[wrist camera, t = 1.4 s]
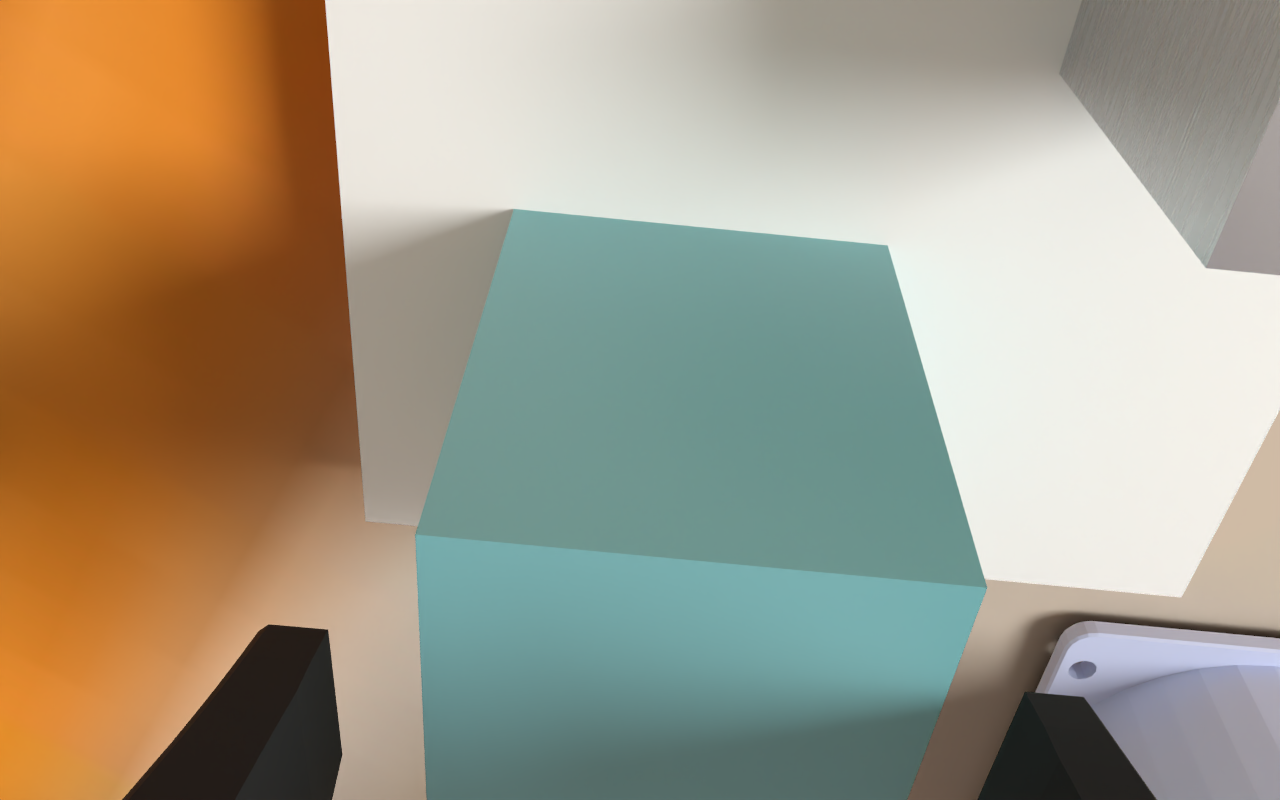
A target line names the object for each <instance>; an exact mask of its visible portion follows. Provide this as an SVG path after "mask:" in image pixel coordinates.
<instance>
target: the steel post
mask: <svg viewBox="0 0 1280 800" xmlns="http://www.w3.org/2000/svg"><path fill="white" fill-rule="evenodd" d="M1059 74H1060V76H1061V77H1062V78H1063V79H1064V81H1065V82H1066V83H1067V85H1068V86H1069V87H1070V89H1071V90H1072V91H1073V93H1074V94H1075V95H1076V97H1077V98H1078V99H1079V101H1080V102H1081V103H1082V105H1083V106H1084V107H1085V109H1086V110H1087V111H1088V113H1089V114H1090V115H1091V117H1092V118H1093V119H1094V121H1095V122H1096V123H1097V125H1098V126H1099V127H1100V129H1101V130H1102V131H1103V133H1104V134H1105V135H1106V137H1107V138H1108V139H1109V141H1110V142H1111V143H1112V145H1113V146H1114V147H1115V148H1116V150H1117V151H1118V152H1119V154H1120V155H1121V156H1122V158H1123V159H1124V160H1125V162H1126V163H1127V164H1128V166H1129V167H1130V168H1131V170H1132V171H1133V172H1134V174H1135V175H1136V176H1137V178H1138V179H1139V180H1140V182H1141V183H1142V184H1143V186H1144V187H1145V188H1146V190H1147V191H1148V192H1149V194H1150V195H1151V196H1152V198H1153V199H1154V200H1155V202H1156V203H1157V204H1158V206H1159V207H1160V208H1161V210H1162V211H1163V212H1164V214H1165V215H1166V216H1167V217H1168V219H1169V220H1170V221H1171V223H1172V224H1173V225H1174V227H1175V228H1176V229H1177V231H1178V232H1179V233H1180V235H1181V236H1182V237H1183V239H1184V240H1185V241H1186V243H1187V244H1188V245H1189V247H1190V248H1191V249H1192V251H1193V252H1194V253H1195V255H1196V256H1197V257H1198V259H1199V260H1200V261H1201V263H1202V264H1203V265H1204V267H1205V268H1209V269H1220V270H1230V271H1240V272H1250V273H1260V274H1271V275H1280V0H1082V2H1081V5H1080V8H1079V11H1078V15H1077V18H1076V21H1075V24H1074V27H1073V31H1072V34H1071V37H1070V40H1069V43H1068V47H1067V50H1066V53H1065V56H1064V59H1063V63H1062V66H1061V69H1060V72H1059Z"/></svg>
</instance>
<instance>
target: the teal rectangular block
mask: <svg viewBox="0 0 1280 800" xmlns="http://www.w3.org/2000/svg"><path fill="white" fill-rule="evenodd" d="M415 538H416V561H417V585H418V608H419V631H420V655H421V678H422V701H423V725H424V748H425V771H426V795H427V800H907V799H908V796H909V794H910V791H911V788H912V786H913V783H914V780H915V778H916V775H917V772H918V770H919V767H920V764H921V762H922V759H923V756H924V754H925V751H926V748H927V746H928V743H929V741H930V738H931V735H932V733H933V730H934V727H935V725H936V722H937V719H938V717H939V714H940V711H941V709H942V706H943V703H944V701H945V698H946V695H947V693H948V690H949V688H950V685H951V682H952V680H953V677H954V674H955V672H956V669H957V666H958V664H959V661H960V658H961V656H962V653H963V650H964V648H965V645H966V642H967V640H968V637H969V635H970V632H971V629H972V627H973V624H974V621H975V619H976V616H977V613H978V611H979V608H980V605H981V603H982V600H983V597H984V595H985V592H986V589H987V586H986V582H985V579H984V575H983V572H982V568H981V565H980V561H979V558H978V555H977V551H976V548H975V544H974V541H973V537H972V534H971V530H970V527H969V524H968V520H967V517H966V513H965V510H964V506H963V503H962V499H961V496H960V493H959V489H958V486H957V482H956V479H955V475H954V472H953V468H952V465H951V462H950V458H949V455H948V451H947V448H946V444H945V441H944V437H943V434H942V431H941V427H940V424H939V420H938V417H937V413H936V410H935V406H934V403H933V400H932V396H931V393H930V389H929V386H928V382H927V379H926V375H925V372H924V369H923V365H922V362H921V358H920V355H919V351H918V348H917V344H916V341H915V338H914V334H913V331H912V327H911V324H910V320H909V317H908V313H907V310H906V307H905V303H904V300H903V296H902V293H901V289H900V286H899V282H898V279H897V276H896V272H895V269H894V265H893V262H892V258H891V255H890V252H889V248H888V245H878V244H868V243H858V242H848V241H837V240H827V239H817V238H807V237H797V236H786V235H776V234H766V233H756V232H745V231H735V230H725V229H715V228H704V227H694V226H684V225H674V224H663V223H653V222H643V221H633V220H623V219H612V218H602V217H592V216H582V215H571V214H561V213H551V212H541V211H530V210H520V209H514V210H513V213H512V217H511V220H510V223H509V227H508V230H507V233H506V237H505V240H504V243H503V246H502V250H501V253H500V256H499V260H498V263H497V266H496V270H495V273H494V276H493V280H492V283H491V286H490V289H489V293H488V296H487V299H486V303H485V306H484V309H483V313H482V316H481V319H480V322H479V326H478V329H477V332H476V336H475V339H474V342H473V346H472V349H471V352H470V356H469V359H468V362H467V365H466V369H465V372H464V375H463V379H462V382H461V385H460V389H459V392H458V395H457V399H456V402H455V405H454V408H453V412H452V415H451V418H450V422H449V425H448V428H447V432H446V435H445V438H444V442H443V445H442V448H441V451H440V455H439V458H438V461H437V465H436V468H435V471H434V475H433V478H432V481H431V484H430V488H429V491H428V494H427V498H426V501H425V504H424V508H423V511H422V514H421V518H420V521H419V524H418V527H417V531H416V534H415Z"/></svg>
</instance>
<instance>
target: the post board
mask: <svg viewBox="0 0 1280 800" xmlns="http://www.w3.org/2000/svg"><path fill="white" fill-rule="evenodd" d="M1081 2H1082V0H325V5H326V18H327V31H328V44H329V57H330V69H331V82H332V95H333V108H334V121H335V134H336V147H337V160H338V173H339V186H340V198H341V211H342V224H343V237H344V250H345V263H346V276H347V289H348V302H349V315H350V328H351V340H352V353H353V366H354V379H355V392H356V405H357V418H358V431H359V444H360V457H361V469H362V482H363V495H364V508H365V521H367V522H378V523H389V524H399V525H410V526H418V524H419V521H420V518H421V514H422V511H423V508H424V504H425V501H426V498H427V494H428V491H429V488H430V484H431V481H432V478H433V475H434V471H435V468H436V465H437V461H438V458H439V455H440V451H441V448H442V445H443V442H444V438H445V435H446V432H447V428H448V425H449V422H450V418H451V415H452V412H453V408H454V405H455V402H456V399H457V395H458V392H459V389H460V385H461V382H462V379H463V375H464V372H465V369H466V365H467V362H468V359H469V356H470V352H471V349H472V346H473V342H474V339H475V336H476V332H477V329H478V326H479V322H480V319H481V316H482V313H483V309H484V306H485V303H486V299H487V296H488V293H489V289H490V286H491V283H492V280H493V276H494V273H495V270H496V266H497V263H498V260H499V256H500V253H501V250H502V246H503V243H504V240H505V237H506V233H507V230H508V227H509V223H510V220H511V217H512V213H513V210H514V209H520V210H530V211H541V212H551V213H561V214H571V215H582V216H592V217H602V218H612V219H623V220H633V221H643V222H653V223H663V224H674V225H684V226H694V227H704V228H715V229H725V230H735V231H745V232H756V233H766V234H776V235H786V236H797V237H807V238H817V239H827V240H837V241H848V242H858V243H868V244H878V245H888V248H889V252H890V255H891V258H892V262H893V265H894V269H895V272H896V276H897V279H898V282H899V286H900V289H901V293H902V296H903V300H904V303H905V307H906V310H907V313H908V317H909V320H910V324H911V327H912V331H913V334H914V338H915V341H916V344H917V348H918V351H919V355H920V358H921V362H922V365H923V369H924V372H925V375H926V379H927V382H928V386H929V389H930V393H931V396H932V400H933V403H934V406H935V410H936V413H937V417H938V420H939V424H940V427H941V431H942V434H943V437H944V441H945V444H946V448H947V451H948V455H949V458H950V462H951V465H952V468H953V472H954V475H955V479H956V482H957V486H958V489H959V493H960V496H961V499H962V503H963V506H964V510H965V513H966V517H967V520H968V524H969V527H970V530H971V534H972V537H973V541H974V544H975V548H976V551H977V555H978V558H979V561H980V565H981V568H982V572H983V575H984V579H990V580H1000V581H1011V582H1022V583H1033V584H1043V585H1054V586H1065V587H1075V588H1086V589H1097V590H1108V591H1118V592H1129V593H1140V594H1151V595H1161V596H1172V597H1182V595H1183V593H1184V591H1185V589H1186V588H1187V586H1188V584H1189V582H1190V580H1191V578H1192V576H1193V574H1194V572H1195V570H1196V569H1197V567H1198V565H1199V563H1200V561H1201V559H1202V557H1203V555H1204V553H1205V551H1206V549H1207V548H1208V546H1209V544H1210V542H1211V540H1212V538H1213V536H1214V534H1215V532H1216V530H1217V528H1218V527H1219V525H1220V523H1221V521H1222V519H1223V517H1224V515H1225V513H1226V511H1227V509H1228V507H1229V506H1230V504H1231V502H1232V500H1233V498H1234V496H1235V494H1236V492H1237V490H1238V488H1239V486H1240V485H1241V483H1242V481H1243V479H1244V477H1245V475H1246V473H1247V471H1248V469H1249V467H1250V466H1251V464H1252V462H1253V460H1254V458H1255V456H1256V454H1257V452H1258V450H1259V448H1260V446H1261V445H1262V443H1263V441H1264V439H1265V437H1266V435H1267V433H1268V431H1269V429H1270V427H1271V425H1272V424H1273V422H1274V420H1275V418H1276V416H1277V414H1278V412H1279V410H1280V275H1271V274H1260V273H1250V272H1240V271H1230V270H1220V269H1209V268H1205V267H1204V265H1203V264H1202V263H1201V261H1200V260H1199V259H1198V257H1197V256H1196V255H1195V253H1194V252H1193V251H1192V249H1191V248H1190V247H1189V245H1188V244H1187V243H1186V241H1185V240H1184V239H1183V237H1182V236H1181V235H1180V233H1179V232H1178V231H1177V229H1176V228H1175V227H1174V225H1173V224H1172V223H1171V221H1170V220H1169V219H1168V217H1167V216H1166V215H1165V214H1164V212H1163V211H1162V210H1161V208H1160V207H1159V206H1158V204H1157V203H1156V202H1155V200H1154V199H1153V198H1152V196H1151V195H1150V194H1149V192H1148V191H1147V190H1146V188H1145V187H1144V186H1143V184H1142V183H1141V182H1140V180H1139V179H1138V178H1137V176H1136V175H1135V174H1134V172H1133V171H1132V170H1131V168H1130V167H1129V166H1128V164H1127V163H1126V162H1125V160H1124V159H1123V158H1122V156H1121V155H1120V154H1119V152H1118V151H1117V150H1116V148H1115V147H1114V146H1113V145H1112V143H1111V142H1110V141H1109V139H1108V138H1107V137H1106V135H1105V134H1104V133H1103V131H1102V130H1101V129H1100V127H1099V126H1098V125H1097V123H1096V122H1095V121H1094V119H1093V118H1092V117H1091V115H1090V114H1089V113H1088V111H1087V110H1086V109H1085V107H1084V106H1083V105H1082V103H1081V102H1080V101H1079V99H1078V98H1077V97H1076V95H1075V94H1074V93H1073V91H1072V90H1071V89H1070V87H1069V86H1068V85H1067V83H1066V82H1065V81H1064V79H1063V78H1062V77H1061V76H1060V74H1059V72H1060V69H1061V66H1062V63H1063V59H1064V56H1065V53H1066V50H1067V47H1068V43H1069V40H1070V37H1071V34H1072V31H1073V27H1074V24H1075V21H1076V18H1077V15H1078V11H1079V8H1080V5H1081Z"/></svg>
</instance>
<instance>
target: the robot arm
mask: <svg viewBox="0 0 1280 800" xmlns="http://www.w3.org/2000/svg"><path fill="white" fill-rule="evenodd" d="M1080 661H1083V662H1081V663H1077V662H1080ZM341 757H342V748H341V740H340V731H339V722H338V713H337V705H336V696H335V687H334V678H333V669H332V661H331V652H330V643H329V634H328V630H325V629H314V628H302V627H291V626H280V625H267V626H266V627H264V628H263V629H261V630H260V631H258V633H257V634H256V636H255V637H254V638H253V640H252V641H251V642H250V644H249V645H248V646H247V648H246V649H245V650H244V652H243V653H242V654H241V656H240V657H239V658H238V660H237V661H236V662H235V664H234V665H233V666H232V668H231V669H230V670H229V672H228V673H227V674H226V676H225V677H224V678H223V679H222V681H221V682H220V683H219V685H218V686H217V687H216V688H215V690H214V691H213V692H212V693H211V695H210V696H209V697H208V699H207V700H206V701H205V702H204V704H203V705H202V706H201V707H200V709H199V710H198V711H197V712H196V713H195V715H194V716H193V717H192V718H191V720H190V721H189V722H188V723H187V724H186V726H185V727H184V728H183V729H182V731H181V732H180V733H179V734H178V736H177V737H176V738H175V739H174V740H173V742H172V743H171V744H170V745H169V746H168V747H167V749H166V750H165V751H164V752H163V753H162V754H161V755H160V757H159V758H158V759H157V760H156V761H155V762H154V764H153V765H152V766H151V767H150V768H149V769H148V771H147V772H146V773H145V774H144V775H143V776H142V778H141V779H140V780H139V781H138V782H137V783H136V784H135V786H134V787H133V788H132V789H131V790H130V791H129V793H128V794H127V795H126V796H125V797H124V798H123V800H332V797H333V793H334V788H335V784H336V780H337V775H338V771H339V766H340V762H341ZM978 800H1280V638H1271V637H1260V636H1249V635H1238V634H1228V633H1217V632H1206V631H1195V630H1184V629H1174V628H1163V627H1152V626H1141V625H1131V624H1120V623H1109V622H1098V621H1083V622H1079V623H1076V624H1073V625H1072V626H1070V627H1069V628H1067V629H1066V630H1065V631H1064V632H1063V633H1062V635H1061V636H1060V638H1059V640H1058V642H1057V645H1056V647H1055V649H1054V651H1053V653H1052V656H1051V658H1050V660H1049V662H1048V665H1047V667H1046V669H1045V671H1044V674H1043V676H1042V678H1041V680H1040V683H1039V685H1038V687H1037V689H1036V691H1035V693H1034V692H1025V693H1024V696H1023V698H1022V700H1021V702H1020V705H1019V707H1018V709H1017V712H1016V714H1015V716H1014V718H1013V721H1012V723H1011V725H1010V727H1009V730H1008V732H1007V734H1006V736H1005V739H1004V741H1003V743H1002V745H1001V748H1000V750H999V752H998V755H997V757H996V759H995V761H994V764H993V766H992V768H991V770H990V773H989V775H988V777H987V779H986V782H985V784H984V786H983V789H982V791H981V793H980V795H979V798H978Z"/></svg>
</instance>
